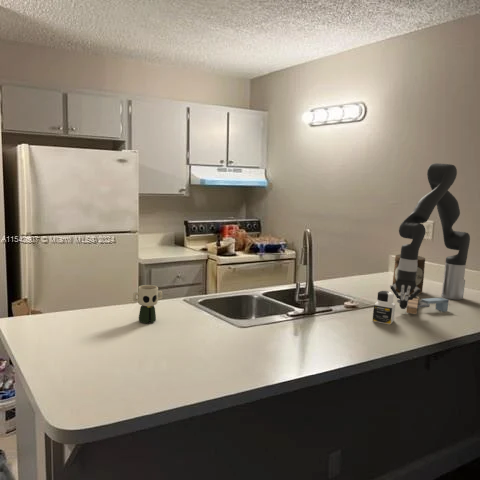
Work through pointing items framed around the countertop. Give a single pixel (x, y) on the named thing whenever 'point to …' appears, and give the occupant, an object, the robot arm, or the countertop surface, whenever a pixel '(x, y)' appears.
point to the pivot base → (419, 303)
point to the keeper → (437, 303)
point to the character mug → (147, 302)
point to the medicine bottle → (384, 308)
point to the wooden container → (418, 276)
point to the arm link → (412, 305)
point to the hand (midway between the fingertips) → (402, 308)
